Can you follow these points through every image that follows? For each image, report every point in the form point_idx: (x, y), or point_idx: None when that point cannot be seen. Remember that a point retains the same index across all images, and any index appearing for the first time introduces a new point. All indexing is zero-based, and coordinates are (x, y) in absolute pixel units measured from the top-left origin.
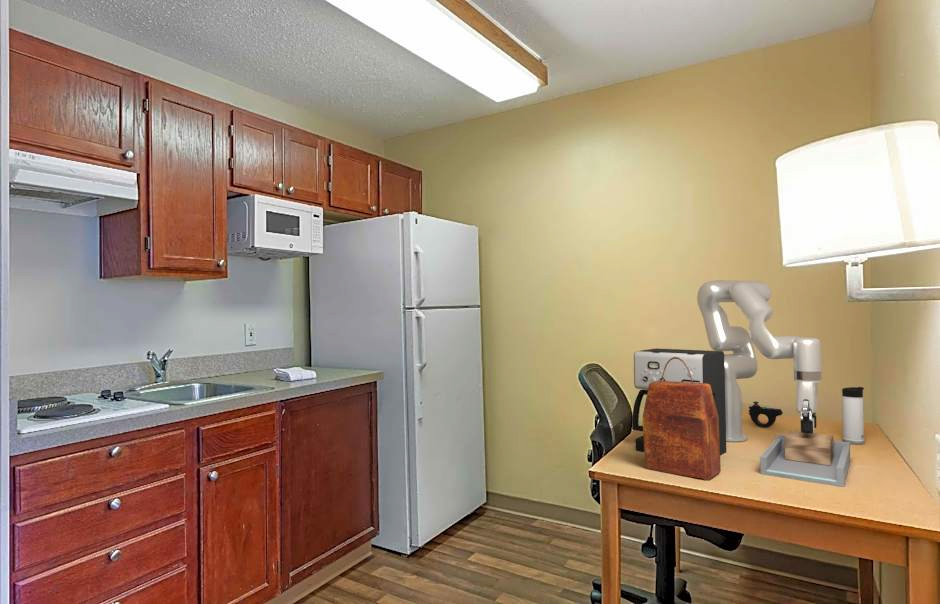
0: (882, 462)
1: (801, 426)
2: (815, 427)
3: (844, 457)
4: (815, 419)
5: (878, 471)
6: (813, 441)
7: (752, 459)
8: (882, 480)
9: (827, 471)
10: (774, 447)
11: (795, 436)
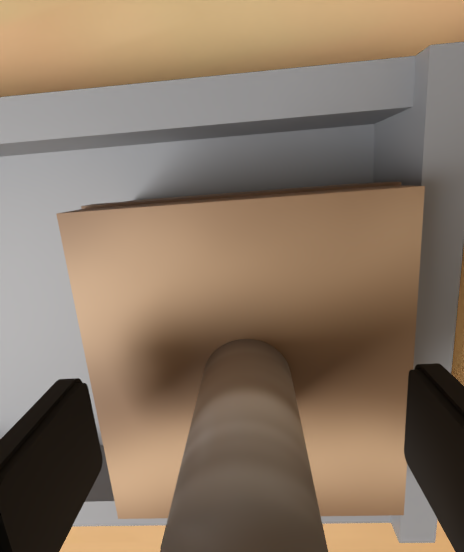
0: (448, 545)
1: (25, 424)
2: (406, 456)
3: (88, 518)
4: (457, 550)
5: None
6: (102, 421)
7: (83, 2)
8: (137, 549)
9: None
10: (31, 141)
11: (157, 288)
